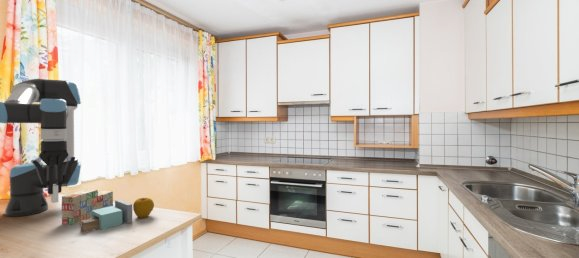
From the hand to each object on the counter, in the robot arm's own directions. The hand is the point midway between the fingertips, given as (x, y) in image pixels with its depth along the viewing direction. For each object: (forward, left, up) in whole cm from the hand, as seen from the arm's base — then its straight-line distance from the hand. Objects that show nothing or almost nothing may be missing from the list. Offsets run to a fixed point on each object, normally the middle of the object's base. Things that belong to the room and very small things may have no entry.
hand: (54, 201), depth 106 cm
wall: (+1, +24, -14) cm, 28 cm away
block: (+1, +18, -14) cm, 22 cm away
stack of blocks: (-17, +17, -14) cm, 28 cm away
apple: (+4, +32, -14) cm, 35 cm away
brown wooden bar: (+1, +14, -14) cm, 19 cm away
